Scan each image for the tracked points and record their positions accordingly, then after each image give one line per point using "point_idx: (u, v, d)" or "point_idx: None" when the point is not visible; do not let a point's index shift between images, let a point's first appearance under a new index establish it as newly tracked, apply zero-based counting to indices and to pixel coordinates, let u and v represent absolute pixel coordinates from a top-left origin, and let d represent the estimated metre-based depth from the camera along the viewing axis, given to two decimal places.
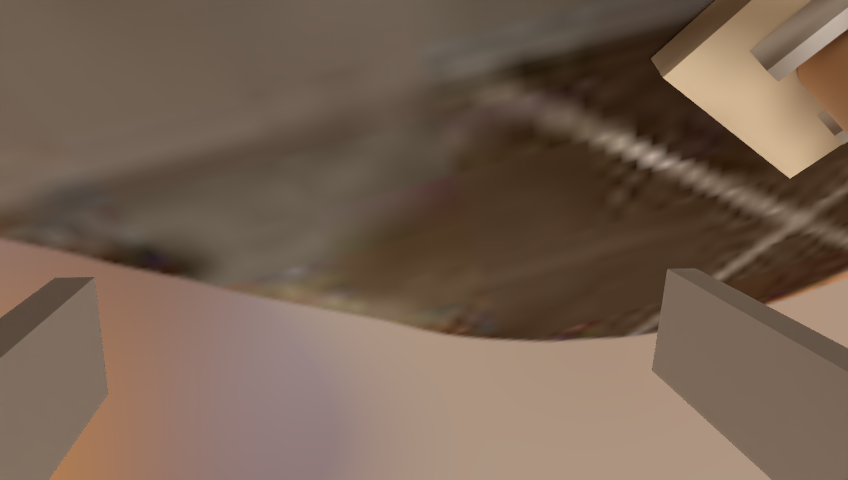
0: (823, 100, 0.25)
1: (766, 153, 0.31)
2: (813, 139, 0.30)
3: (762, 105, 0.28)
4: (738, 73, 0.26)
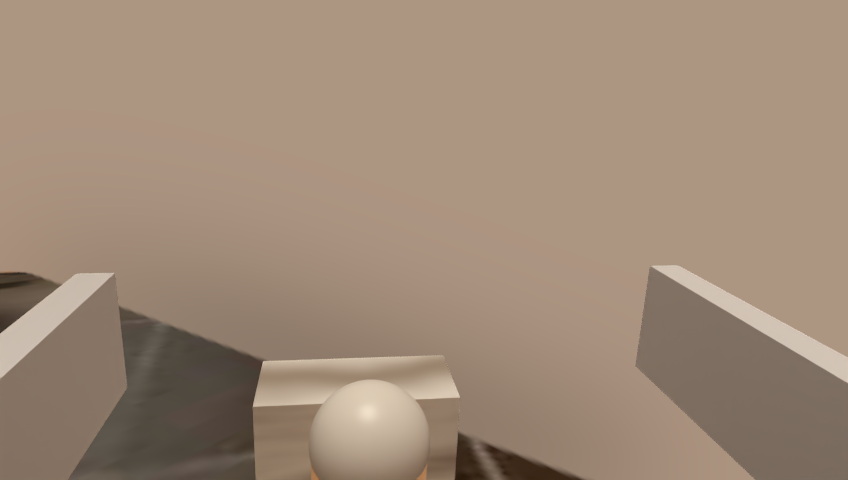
0: None
1: None
2: None
3: None
4: None
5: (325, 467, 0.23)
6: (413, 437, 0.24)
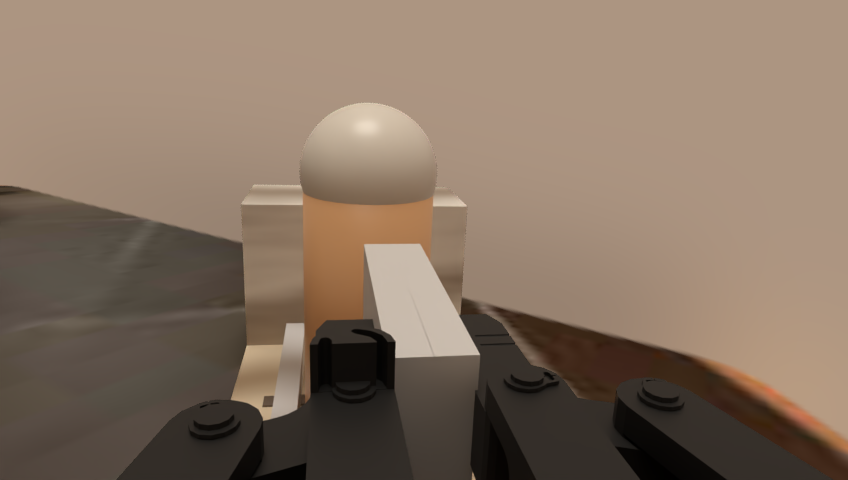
0: None
1: None
2: None
3: None
4: None
5: (318, 175, 0.20)
6: (418, 146, 0.21)
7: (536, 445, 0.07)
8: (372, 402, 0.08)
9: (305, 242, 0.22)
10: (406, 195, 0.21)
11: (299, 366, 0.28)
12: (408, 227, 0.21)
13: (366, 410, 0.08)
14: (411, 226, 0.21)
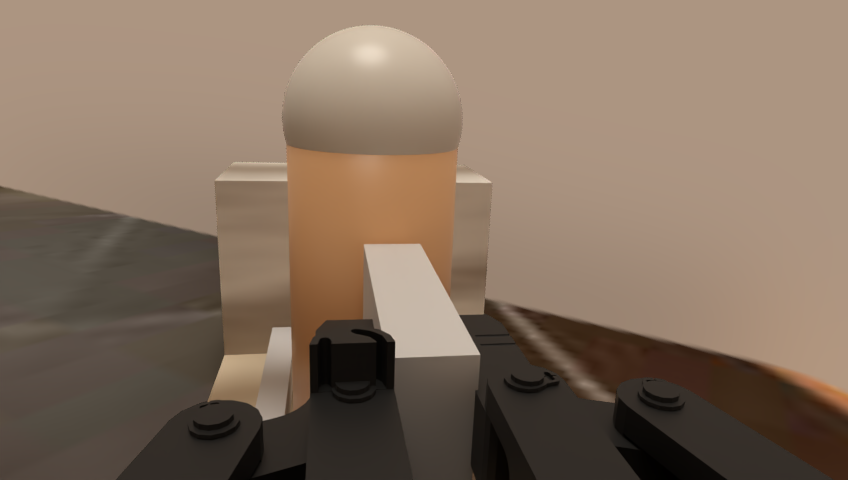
0: None
1: None
2: None
3: None
4: None
5: (305, 115, 0.15)
6: (439, 78, 0.16)
7: (536, 445, 0.07)
8: (372, 402, 0.08)
9: (290, 210, 0.17)
10: (424, 143, 0.15)
11: (286, 381, 0.22)
12: (427, 187, 0.16)
13: (366, 410, 0.08)
14: (430, 186, 0.16)
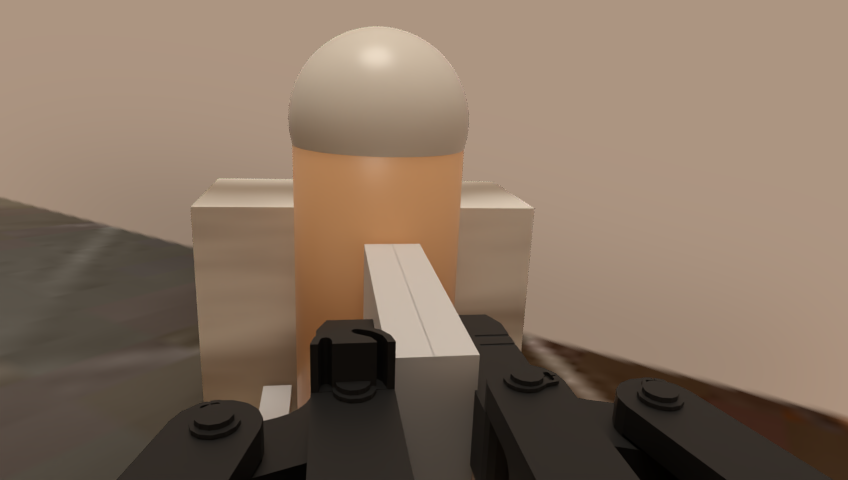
0: None
1: None
2: None
3: None
4: None
5: (312, 117, 0.15)
6: (447, 81, 0.16)
7: (536, 445, 0.07)
8: (372, 402, 0.08)
9: (296, 212, 0.17)
10: (432, 145, 0.15)
11: None
12: (433, 189, 0.16)
13: (366, 410, 0.08)
14: (437, 188, 0.16)
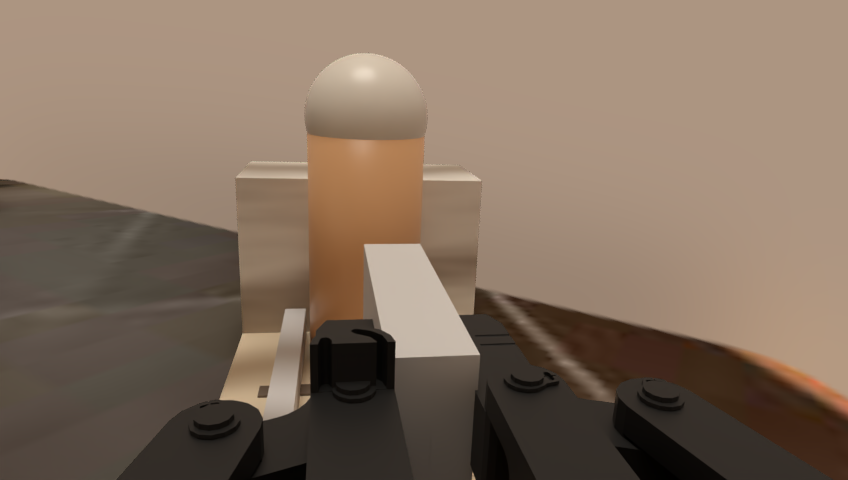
0: None
1: None
2: None
3: None
4: None
5: (320, 114, 0.23)
6: (409, 89, 0.23)
7: (536, 445, 0.07)
8: (372, 402, 0.08)
9: (309, 178, 0.25)
10: (399, 132, 0.23)
11: (298, 353, 0.25)
12: (401, 162, 0.24)
13: (366, 410, 0.08)
14: (404, 161, 0.24)
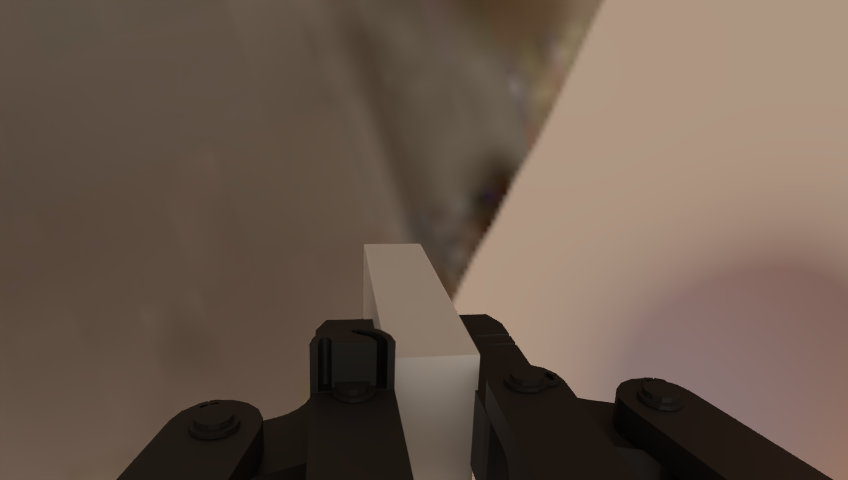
0: None
1: None
2: None
3: None
4: None
5: None
6: None
7: (536, 445, 0.07)
8: (372, 402, 0.08)
9: None
10: None
11: None
12: None
13: (366, 410, 0.08)
14: None
